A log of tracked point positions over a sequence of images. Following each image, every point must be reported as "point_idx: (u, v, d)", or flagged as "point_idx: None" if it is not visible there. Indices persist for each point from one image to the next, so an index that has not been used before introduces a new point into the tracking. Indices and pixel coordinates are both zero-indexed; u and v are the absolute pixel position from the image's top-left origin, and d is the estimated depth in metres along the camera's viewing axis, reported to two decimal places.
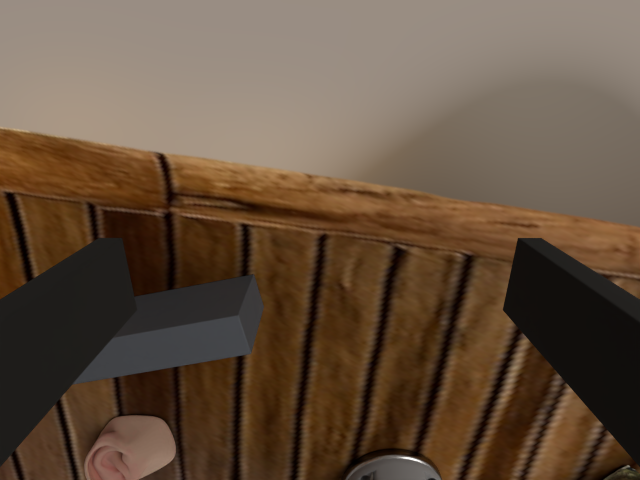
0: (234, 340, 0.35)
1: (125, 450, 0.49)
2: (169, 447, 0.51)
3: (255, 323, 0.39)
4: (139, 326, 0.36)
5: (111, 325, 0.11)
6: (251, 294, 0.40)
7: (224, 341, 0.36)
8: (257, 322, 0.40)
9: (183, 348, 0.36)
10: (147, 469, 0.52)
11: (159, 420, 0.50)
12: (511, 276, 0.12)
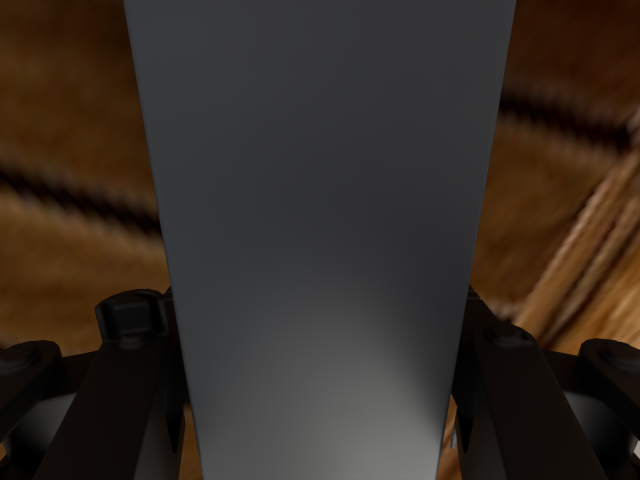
0: None
1: None
2: None
3: None
4: None
5: None
6: None
7: (300, 472, 0.07)
8: None
9: (303, 273, 0.05)
10: None
11: None
12: None
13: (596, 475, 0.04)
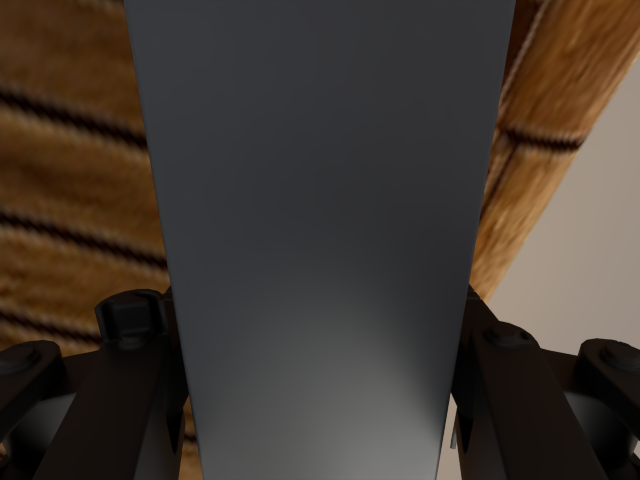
0: None
1: None
2: None
3: None
4: None
5: None
6: None
7: (300, 471, 0.07)
8: None
9: (303, 273, 0.05)
10: None
11: None
12: None
13: (596, 475, 0.04)
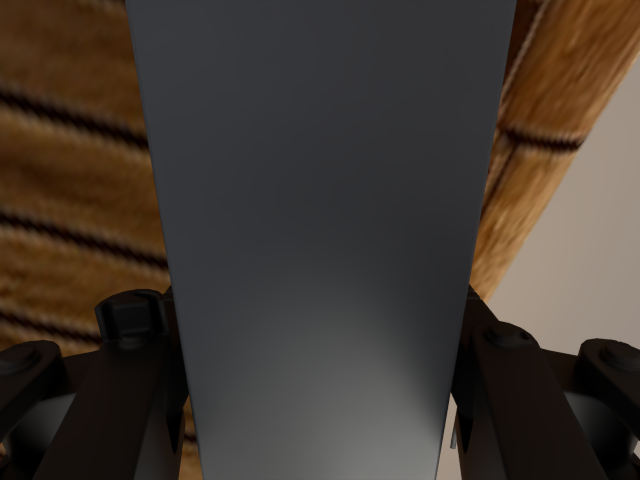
0: None
1: None
2: None
3: None
4: None
5: None
6: None
7: (300, 470, 0.07)
8: None
9: (303, 273, 0.05)
10: None
11: None
12: None
13: (596, 475, 0.04)
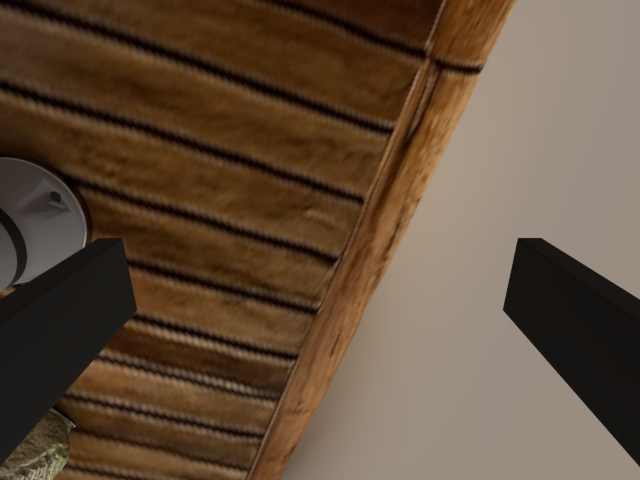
0: None
1: None
2: None
3: None
4: None
5: (112, 325, 0.11)
6: None
7: None
8: None
9: None
10: None
11: None
12: (511, 276, 0.12)
13: None
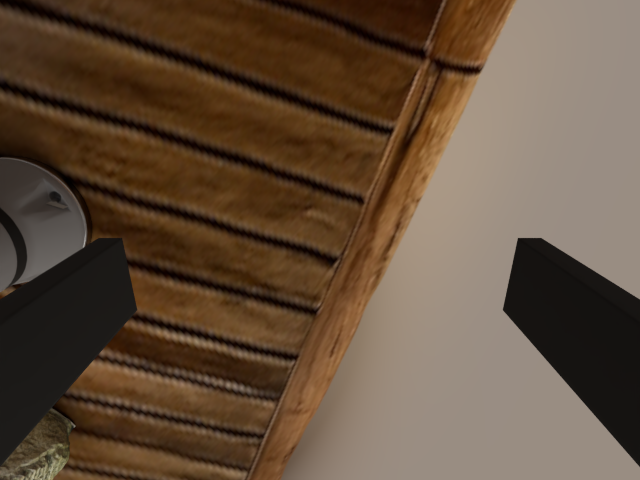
0: None
1: None
2: None
3: None
4: None
5: (112, 325, 0.11)
6: None
7: None
8: None
9: None
10: None
11: None
12: (511, 276, 0.12)
13: None
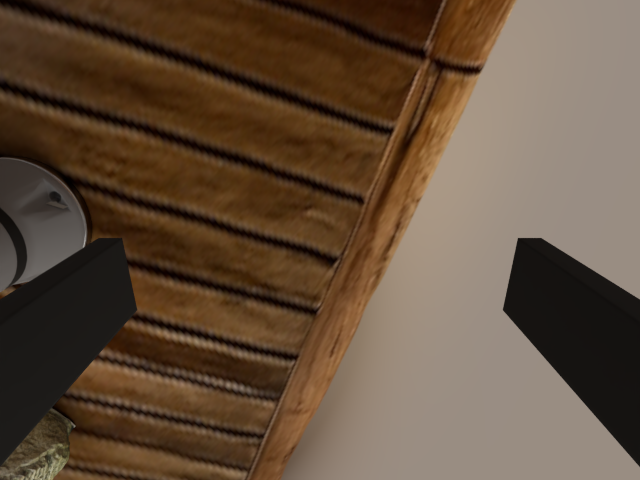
0: None
1: None
2: None
3: None
4: None
5: (112, 325, 0.11)
6: None
7: None
8: None
9: None
10: None
11: None
12: (511, 276, 0.12)
13: None
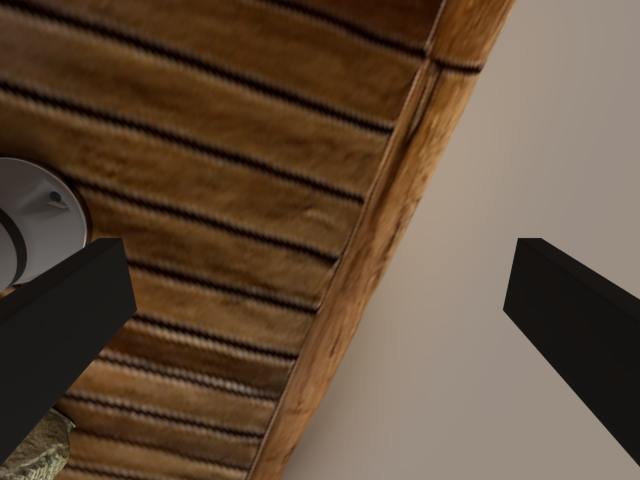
0: None
1: None
2: None
3: None
4: None
5: (112, 325, 0.11)
6: None
7: None
8: None
9: None
10: None
11: None
12: (511, 276, 0.12)
13: None
